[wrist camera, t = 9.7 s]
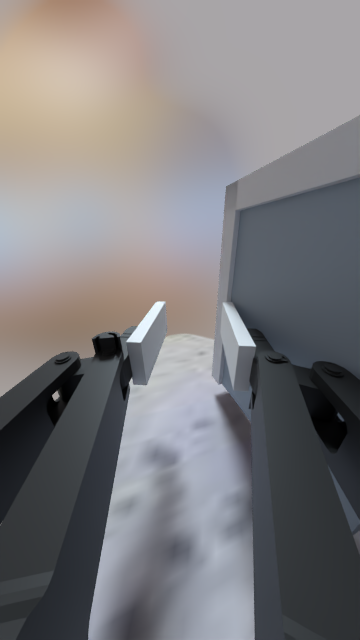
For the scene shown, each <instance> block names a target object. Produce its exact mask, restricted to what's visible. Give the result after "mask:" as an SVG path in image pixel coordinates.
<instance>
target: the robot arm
mask: <svg viewBox="0 0 360 640" xmlns="http://www.w3.org/2000/svg"><path fill="white" fill-rule="evenodd" d="M165 303H166V302H156V303H155V304H154V306H153V307H152V308H151V310H150V311H149V312H148V314H147V315H146V316H145V318H144V319H143V320H142V322H141V323H140V324H139V326H132V327H130V328H128V329H126V330H125V332H124V333H123V334H122V335H121V336H120V334H119V333H117V332H105V333H101V334H98V335H96V336H95V337H94V338H92V341H93V345H94V349H95V353H96V354H95V355H94V357H91V358H85V359H80V357H79V354H78V353H77V352H65V353H60V354H59V355H56V356H54V357H53V358H51V359H50V360H49V361H47V362H46V363H45V364H43V365H42V366H41V367H40V368H38V369H37V370H35V371H34V372H33V373H32V374H30V375H29V376H28V377H26V378H25V379H24V380H22V381H21V382H20V383H19V384H17V385H16V386H15V387H13V388H12V389H11V390H9V391H8V392H7V393H5V394H4V395H3V396H1V397H0V524H1V525H0V640H88V629H89V620H90V613H91V607H92V601H93V596H94V590H95V584H96V579H97V573H98V567H99V562H100V556H101V550H102V545H103V539H104V533H105V528H106V522H107V517H108V511H109V505H110V500H111V494H112V488H113V483H114V477H115V471H116V466H117V460H118V454H119V449H120V443H121V437H122V432H123V426H124V420H125V415H126V409H127V404H128V398H129V392H130V386H129V382H130V380H131V378H132V379H133V384H135V385H147V383H148V380H149V378H150V375H151V372H152V370H153V367H154V365H155V362H156V359H157V357H158V354H159V351H160V349H161V346H162V343H163V341H164V338H165V336H166V333H167V318H166V304H165ZM220 333H221V338H222V342H223V347H224V351H225V356H226V360H227V365H228V369H229V374H230V378H231V383H232V387H233V390H234V391H248V390H249V384H250V385H251V388H252V393H251V398H250V404H249V409H251V447H252V503H253V559H254V615H255V640H360V554H359V551H358V549H357V546H356V543H355V540H354V537H353V535H352V532H351V529H350V526H349V523H348V521H347V518H346V515H345V512H344V509H343V507H342V504H341V501H340V498H339V495H338V493H337V490H336V487H335V484H334V482H333V479H332V476H331V473H330V470H331V472H332V473H333V475H334V477H335V479H336V480H337V482H338V484H339V485H340V487H341V489H342V491H343V492H344V494H345V496H346V498H347V499H348V501H349V503H350V504H351V506H352V508H353V510H354V511H355V513H356V515H357V517H358V518H359V520H360V380H359V379H358V378H357V377H356V376H354V375H353V374H352V373H351V372H350V371H348V370H347V369H345V368H344V367H341V366H339V365H338V364H335V363H332V362H326V361H316V362H314V363H313V365H312V368H311V369H309V368H305V367H301V366H296V365H293V364H291V361H290V360H289V358H288V357H286V356H285V355H283V354H281V353H279V352H275V351H274V349H273V348H272V346H271V345H270V343H269V342H268V341H267V339H266V338H265V336H264V335H263V333H262V332H261V331H259V330H257V329H252V328H246V327H245V325H244V323H243V321H242V319H241V318H240V316H239V314H238V312H237V310H236V308H235V306H234V305H233V303H232V302H223V303H222V316H221V330H220ZM56 391H58V393H59V396H60V397H59V398H58V399H56V400H55V401H54V400H53V397H52V395H53V394H54V393H55V392H56ZM338 413H339V414H340V415H341V416H342V418H343V419H344V421H342V420H341V419H340V418H339V417H338V416H337V414H338ZM328 466H329V468H330V470H329V468H328ZM2 521H3V522H2Z"/></svg>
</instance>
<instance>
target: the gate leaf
mask: <svg viewBox="0 0 360 640" xmlns="http://www.w3.org/2000/svg"><path fill="white" fill-rule="evenodd" d="M223 302H232V303H233V305H234V306H235V308H236V310H237V312H238V314H239V316H240V318H241V319H242V321H243V323H244V325H245V327H246V328H252V329H257V330H259V331H261V332H262V333H263V335H264V336H265V338H266V339H267V341H268V342H269V343H270V345H271V346H272V348H273V349H274V351H275V352H279V353H281V354H283V355H285V356H286V357H288V358H289V360H290V361H291V364H293V365H296V366H301V367H305V368H309V369H311V368H312V365H313V363H314V362H316V361H326V362H332V363H335V364H338V365H339V366H341V367H344V368H345V369H347V370H348V371H350V372H351V373H352V374H353V375H354V376H356V377H357V378H358V379H359V380H360V115H359V116H358V117H356V118H354V119H352V120H350V121H348V122H346V123H344V124H342V125H341V126H339V127H337V128H335V129H333V130H331V131H329V132H328V133H326V134H324V135H322V136H320V137H318V138H316V139H314V140H313V141H311V142H309V143H307V144H305V145H303V146H301V147H299V148H298V149H296V150H294V151H292V152H290V153H288V154H286V155H284V156H283V157H281V158H279V159H277V160H275V161H273V162H271V163H269V164H268V165H266V166H264V167H262V168H260V169H258V170H256V171H254V172H253V173H251V174H249V175H247V176H245V177H243V178H241V179H239V180H238V181H236V182H234V183H232V184H230V185H228V186H226V195H225V208H224V221H223V235H222V249H221V261H220V274H219V288H218V302H217V316H216V328H215V341H214V354H213V367H212V376H213V378H214V379H215V380H216V382H217V383H218V385H219V384H223V386H224V387H225V388H226V390H227V391H228V392H229V394H230V395H231V396H232V398H233V399H234V400H235V402H236V403H237V404H238V406H239V407H240V408H241V410H242V411H243V412H244V414H245V415H246V416H247V418H248V419H249V420H250V422H251V409H249V404H250V398H251V393H252V388H251V385H250V384H249V390H248V391H234V390H233V387H232V383H231V378H230V374H229V369H228V365H227V360H226V356H225V351H224V347H223V342H222V338H221V333H220V330H221V316H222V303H223ZM337 416H338V417H339V418H340V419H341V420H342V421H344V419H343V418H342V416H341V415H340V414H339V413H338V414H337ZM328 468H329V466H328ZM329 470H330V468H329ZM330 473H331V476H332V479H333V482H334V484H335V487H336V490H337V493H338V495H339V498H340V501H341V504H342V507H343V509H344V512H345V515H346V518H347V521H348V523H349V526H350V529H351V532H352V535H354V534H356V533H357V532H358V531H359V530H360V520H359V518H358V517H357V515H356V513H355V511H354V510H353V508H352V506H351V504H350V503H349V501H348V499H347V498H346V496H345V494H344V492H343V491H342V489H341V487H340V485H339V484H338V482H337V480H336V479H335V477H334V475H333V473H332V472H331V470H330Z"/></svg>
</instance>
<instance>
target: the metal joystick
mask: <svg viewBox="0 0 360 640" xmlns="http://www.w3.org/2000/svg"><path fill="white" fill-rule="evenodd" d="M353 537H354V540H355V543H356V546H357V549H358V551H359V554H360V530H359V531H358V532H357V533H356V534H354V535H353Z"/></svg>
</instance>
